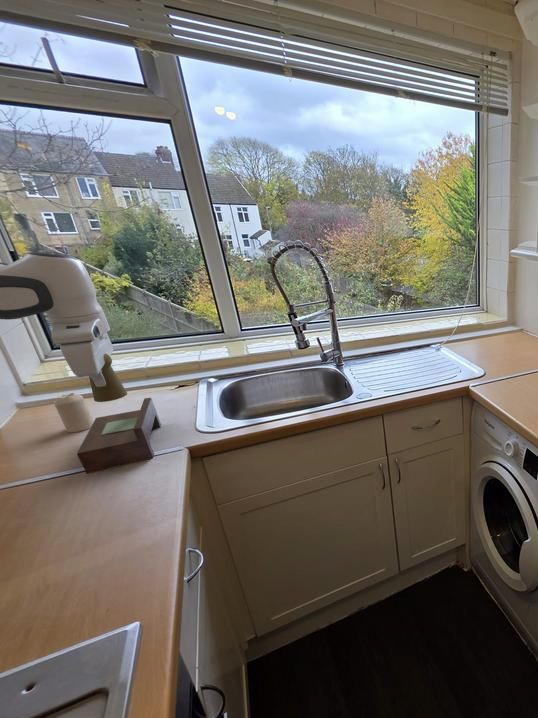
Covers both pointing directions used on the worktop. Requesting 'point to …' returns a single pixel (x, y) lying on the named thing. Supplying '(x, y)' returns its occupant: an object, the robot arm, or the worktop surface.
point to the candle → (73, 412)
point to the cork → (108, 384)
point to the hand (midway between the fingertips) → (104, 381)
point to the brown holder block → (119, 439)
